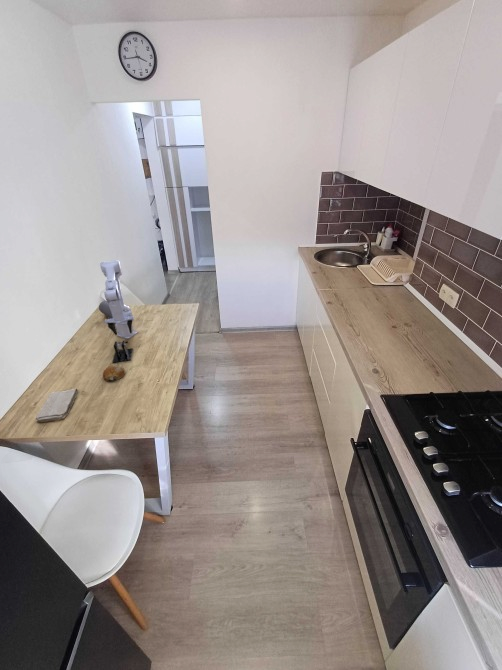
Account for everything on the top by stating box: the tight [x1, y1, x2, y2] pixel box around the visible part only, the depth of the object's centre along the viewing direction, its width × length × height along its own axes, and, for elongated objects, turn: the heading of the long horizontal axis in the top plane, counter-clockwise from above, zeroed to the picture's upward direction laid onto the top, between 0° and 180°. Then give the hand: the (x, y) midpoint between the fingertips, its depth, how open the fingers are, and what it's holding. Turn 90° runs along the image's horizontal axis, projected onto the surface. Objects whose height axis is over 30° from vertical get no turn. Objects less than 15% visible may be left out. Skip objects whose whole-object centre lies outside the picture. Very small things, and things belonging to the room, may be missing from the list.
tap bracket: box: [112, 340, 134, 364], centre depth 168 cm, size 11×9×9 cm
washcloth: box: [35, 388, 79, 423], centre depth 139 cm, size 12×18×3 cm, turn 9°
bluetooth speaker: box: [98, 300, 126, 319], centre depth 205 cm, size 23×9×10 cm, turn 49°
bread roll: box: [102, 363, 126, 383], centre depth 155 cm, size 10×10×8 cm
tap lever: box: [117, 340, 129, 350], centre depth 170 cm, size 10×5×2 cm, turn 12°
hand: (123, 333), depth 171 cm, fingers open, 7 cm apart
